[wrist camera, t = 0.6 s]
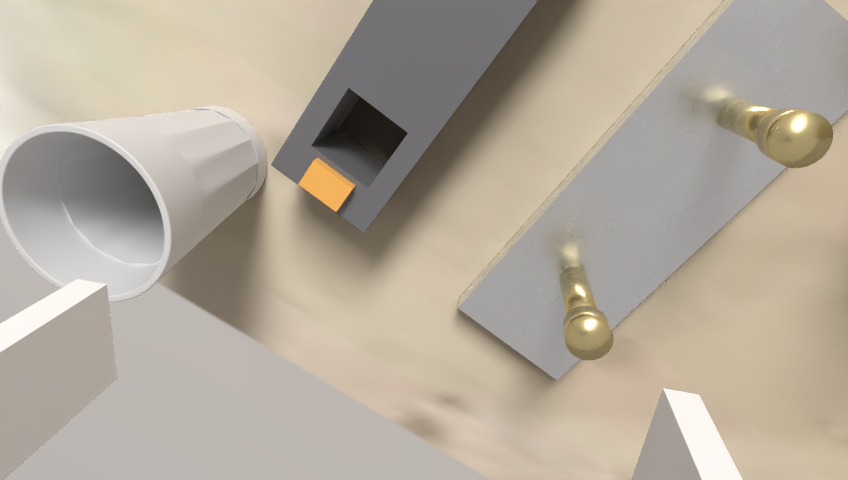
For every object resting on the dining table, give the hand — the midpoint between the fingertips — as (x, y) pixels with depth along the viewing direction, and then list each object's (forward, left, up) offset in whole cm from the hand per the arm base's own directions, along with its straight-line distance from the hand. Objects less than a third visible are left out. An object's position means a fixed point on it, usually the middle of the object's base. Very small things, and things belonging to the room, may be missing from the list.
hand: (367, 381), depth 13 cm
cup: (-12, -9, -22) cm, 26 cm away
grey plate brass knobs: (+10, +5, -21) cm, 24 cm away
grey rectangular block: (-5, +5, -21) cm, 22 cm away
